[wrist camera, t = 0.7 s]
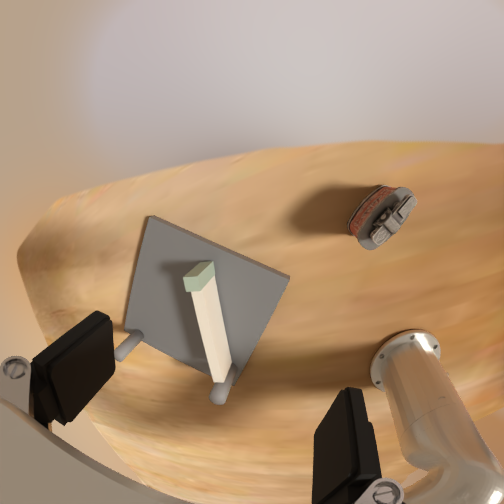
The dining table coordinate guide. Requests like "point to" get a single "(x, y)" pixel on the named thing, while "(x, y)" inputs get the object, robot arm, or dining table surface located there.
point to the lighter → (381, 215)
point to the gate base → (182, 307)
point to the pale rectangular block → (209, 318)
